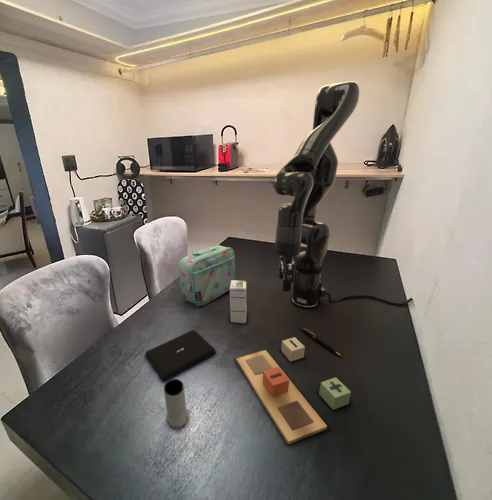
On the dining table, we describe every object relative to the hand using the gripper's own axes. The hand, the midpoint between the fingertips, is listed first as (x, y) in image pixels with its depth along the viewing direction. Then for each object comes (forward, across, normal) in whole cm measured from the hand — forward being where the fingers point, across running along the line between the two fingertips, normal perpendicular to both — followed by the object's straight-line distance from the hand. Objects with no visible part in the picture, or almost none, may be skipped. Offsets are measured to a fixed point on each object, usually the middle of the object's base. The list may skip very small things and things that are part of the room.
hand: (284, 284), depth 87 cm
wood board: (+16, -28, +5) cm, 32 cm away
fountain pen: (+16, -8, -11) cm, 21 cm away
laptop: (+16, -18, +32) cm, 41 cm away
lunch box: (+16, +17, +27) cm, 36 cm away
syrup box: (+16, +2, +15) cm, 22 cm away
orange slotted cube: (+15, -28, +5) cm, 32 cm away
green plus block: (+16, -28, -9) cm, 34 cm away
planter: (+17, -39, +29) cm, 51 cm away
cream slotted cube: (+16, -14, -2) cm, 21 cm away
